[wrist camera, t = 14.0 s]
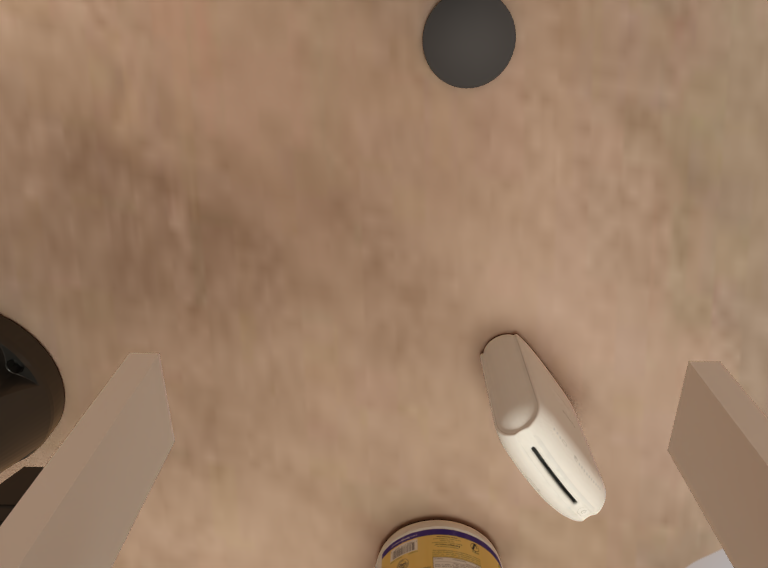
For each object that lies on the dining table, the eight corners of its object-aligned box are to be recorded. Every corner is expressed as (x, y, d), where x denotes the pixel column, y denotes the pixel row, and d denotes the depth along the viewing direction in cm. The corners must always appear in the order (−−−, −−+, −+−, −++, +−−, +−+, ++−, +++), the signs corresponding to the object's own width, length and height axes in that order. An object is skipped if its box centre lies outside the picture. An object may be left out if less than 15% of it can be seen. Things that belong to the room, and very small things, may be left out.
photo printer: (580, 409, 54) (625, 519, 43) (536, 432, 56) (569, 546, 44) (516, 322, 51) (548, 417, 40) (471, 349, 52) (489, 449, 41)
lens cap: (411, 71, 43) (411, 73, 43) (438, -23, 41) (439, -23, 40) (494, 96, 44) (496, 99, 43) (526, 5, 42) (529, 6, 41)
